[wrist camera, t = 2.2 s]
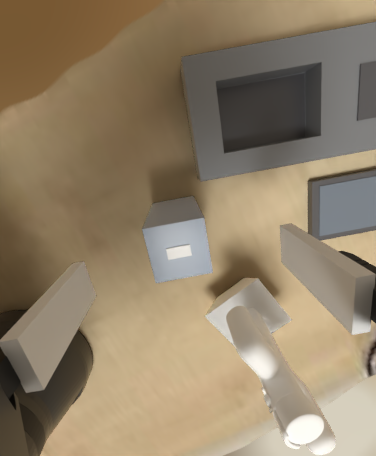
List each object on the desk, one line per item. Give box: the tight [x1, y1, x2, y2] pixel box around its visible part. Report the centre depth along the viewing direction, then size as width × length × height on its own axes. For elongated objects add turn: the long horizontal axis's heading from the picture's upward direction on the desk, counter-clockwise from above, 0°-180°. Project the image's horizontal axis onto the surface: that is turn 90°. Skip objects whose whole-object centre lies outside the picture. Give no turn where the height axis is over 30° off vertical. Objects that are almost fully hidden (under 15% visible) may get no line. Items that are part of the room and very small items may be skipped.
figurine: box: [205, 278, 336, 455], centre depth 22 cm, size 7×9×15 cm
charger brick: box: [142, 196, 213, 283], centre depth 21 cm, size 4×4×9 cm
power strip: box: [180, 22, 376, 181], centre depth 21 cm, size 30×10×4 cm, turn 100°
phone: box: [308, 169, 376, 240], centre depth 26 cm, size 14×7×1 cm, turn 100°
